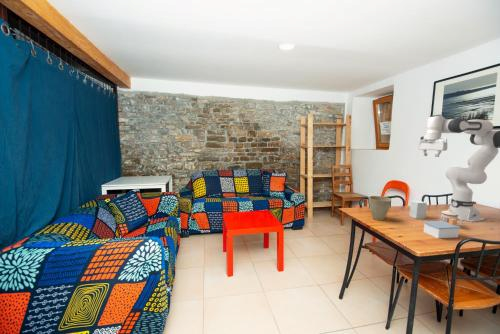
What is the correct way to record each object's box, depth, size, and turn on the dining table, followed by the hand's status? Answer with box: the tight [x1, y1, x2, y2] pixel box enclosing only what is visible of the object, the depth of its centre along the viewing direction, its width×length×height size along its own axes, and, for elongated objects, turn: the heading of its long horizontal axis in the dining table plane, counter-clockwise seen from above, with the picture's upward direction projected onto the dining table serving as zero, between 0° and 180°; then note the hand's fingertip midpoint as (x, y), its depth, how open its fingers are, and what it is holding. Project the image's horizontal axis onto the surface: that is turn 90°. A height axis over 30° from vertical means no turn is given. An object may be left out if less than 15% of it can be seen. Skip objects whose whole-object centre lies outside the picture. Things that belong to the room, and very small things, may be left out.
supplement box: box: [409, 200, 428, 220], centre depth 176 cm, size 7×7×13 cm
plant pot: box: [368, 195, 392, 221], centre depth 171 cm, size 15×15×16 cm
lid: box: [423, 219, 461, 229], centre depth 143 cm, size 17×11×5 cm, turn 97°
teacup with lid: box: [439, 208, 463, 226], centre depth 158 cm, size 12×9×12 cm
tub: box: [423, 223, 460, 239], centre depth 144 cm, size 14×10×6 cm
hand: (431, 156), depth 167 cm, fingers open, 8 cm apart
